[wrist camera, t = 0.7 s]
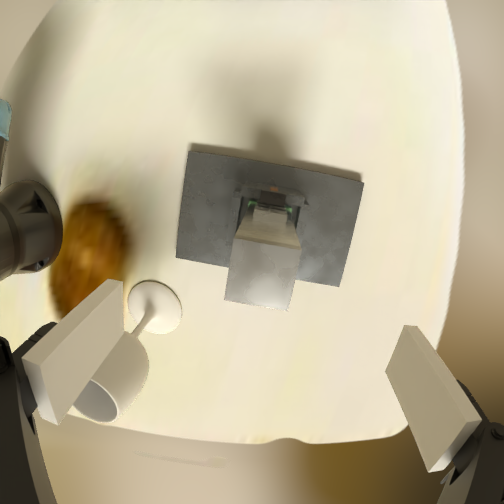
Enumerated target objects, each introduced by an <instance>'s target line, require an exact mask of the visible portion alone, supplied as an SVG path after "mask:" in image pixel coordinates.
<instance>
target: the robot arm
mask: <svg viewBox="0 0 504 504" xmlns="http://www.w3.org/2000/svg"><path fill="white" fill-rule="evenodd" d="M11 116H12V109H11V106H10V105H9V103H8V102H7V101H5V100H2V99H0V185H1V177H2V170H3V163H4V157H5V151H6V146H7V142H8V141H9V136H8V133H9V127H10V122H11ZM61 244H62V221H61V216H60V213H59V210H58V207H57V204H56V202H55V200H54V199H53V197H52V195H51V194H50V193H49V191H48V190H47V189H46V188H45V187H44V186H42V185H41V184H39V183H38V182H35V181H31V180H25V181H20V182H15V183H13V184H11V185H9V186H8V187H6V188H5V189H4V190H3V191H1V192H0V281H2V280H3V279H5V278H6V277H8V276H10V275H12V274H25V273H35V272H39V271H41V270H43V269H44V268H46V267H48V266H49V265H51V264H52V263H53V262H54V260H55V259H56V258H57V256H58V254H59V251H60V248H61ZM123 334H124V318H123V282H121V281H116V280H112V279H107V280H106V281H105V282H104V283H103V284H101V285H100V286H99V287H98V288H97V289H96V290H95V291H93V292H92V293H91V294H90V295H89V296H88V297H87V298H85V299H84V300H83V301H82V302H81V303H80V304H79V305H77V306H76V307H75V308H74V309H73V310H72V311H71V312H70V313H69V314H67V315H66V316H65V317H64V318H63V319H62V320H61V321H60V322H59V323H55V322H50V323H48V324H46V325H44V326H42V327H41V328H39V329H38V330H37V331H36V332H35V333H34V334H33V335H32V336H30V337H29V338H28V340H26V341H25V342H24V343H23V344H22V345H21V346H20V347H18V348H17V349H16V350H15V351H14V352H13V353H11V349H10V346H9V342H8V341H7V340H6V339H5V338H3V337H1V336H0V504H57V502H56V499H55V496H54V493H53V490H52V487H51V484H50V481H49V477H48V474H47V470H46V467H45V463H44V460H43V456H42V452H41V448H40V443H39V439H38V434H37V430H36V425H35V420H34V417H33V415H32V413H33V412H34V410H35V409H36V408H38V410H39V413H40V416H41V418H43V419H45V420H47V421H50V422H52V423H54V424H56V425H59V424H60V422H61V421H62V419H63V418H64V416H65V415H66V414H67V412H68V411H69V409H70V408H71V406H72V405H73V403H74V402H75V400H76V399H77V398H78V396H79V395H80V393H81V392H82V390H83V389H84V387H85V386H86V385H87V383H88V382H89V380H90V379H91V378H92V376H93V375H94V373H95V372H96V371H97V369H98V368H99V366H100V365H101V364H102V362H103V361H104V360H105V358H106V357H107V355H108V354H109V353H110V351H111V350H112V349H113V347H114V346H115V344H116V343H117V342H118V340H119V339H120V338H121V336H122V335H123ZM385 372H386V374H387V376H388V378H389V381H390V383H391V385H392V387H393V389H394V392H395V394H396V396H397V398H398V401H399V403H400V405H401V408H402V410H403V412H404V414H405V417H406V419H407V421H408V424H409V426H410V428H411V431H412V433H413V436H414V438H415V441H416V443H417V445H418V448H419V450H420V453H421V455H422V458H423V460H424V463H425V465H426V468H427V471H428V472H433V471H439V470H444V469H445V467H446V466H447V465H448V464H449V463H450V462H451V460H453V462H454V465H455V466H454V468H453V469H452V470H451V471H450V472H449V473H448V474H447V475H446V477H445V478H444V479H443V480H442V481H441V484H443V483H444V482H445V481H446V480H447V481H446V484H445V486H444V488H443V491H442V493H441V495H440V498H439V500H438V502H437V504H504V426H503V425H501V424H500V423H496V422H492V423H490V422H489V420H488V419H487V417H486V416H485V414H484V412H483V411H482V409H481V408H480V406H479V405H478V403H477V402H476V400H475V399H474V397H473V396H471V395H472V394H471V393H470V392H469V390H468V389H467V387H466V386H465V385H464V384H462V383H461V382H460V381H459V380H456V379H455V378H454V376H453V375H452V373H451V372H450V371H449V369H448V368H447V366H446V365H445V364H444V362H443V361H442V359H441V358H440V356H439V355H438V354H437V352H436V351H435V350H434V348H433V347H432V345H431V344H430V343H429V341H428V340H427V339H426V337H425V336H424V335H423V333H422V332H421V331H420V329H419V328H418V327H417V326H409V325H404V327H403V330H402V332H401V335H400V337H399V340H398V342H397V345H396V347H395V350H394V352H393V354H392V357H391V359H390V362H389V364H388V366H387V368H386V371H385Z"/></svg>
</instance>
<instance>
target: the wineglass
mask: <svg viewBox="0 0 504 504" xmlns="http://www.w3.org/2000/svg"><path fill="white" fill-rule="evenodd" d="M128 308H129V312H130V314H131V316H132V318H133V319H134V321H135V322H136V323H137V324H138V325H137V327H136V328H135V329H134V331H133V332H132V333H131V334H130V333H129V332H126V331H124V334H123V335H122V336H121V338H120V339H119V340H118V342H117V343H116V344H115V346H114V347H113V349H112V350H111V351H110V353H109V354H108V355H107V357H106V358H105V360H104V361H103V362H102V364H101V365H100V366H99V368H98V369H97V371H96V372H95V373H94V375H93V376H92V378H91V379H90V380H89V382H88V383H87V385H86V386H85V387H84V389H83V390H82V392H81V393H80V395H79V396H78V398H77V399H76V400H75V402H74V403H73V405H72V406H73V407H74V408H75V409H76V410H77V411H79V412H80V413H81V414H83V415H84V416H86V417H88V418H89V419H92V420H94V421H97V422H102V423H110V422H113V421H115V420H117V419H118V418H119V417H120V416H121V415H122V414H123V413H124V412H125V411H126V410H127V409H128V408H129V407H130V406H131V404H132V403H133V402H134V401H135V399H136V398H137V397H138V395H139V393H140V392H141V390H142V388H143V386H144V384H145V381H146V379H147V376H148V372H149V360H148V356H147V353H146V350H145V348H144V346H143V345H142V343H141V342H140V341H139V340H138V337H139V335H140V333H141V332H142V330H143V329H145V330H147V331H149V332H152V333H156V334H164V333H168V332H171V331H173V330H174V329H175V328H176V327H177V326H178V325H179V323H180V321H181V318H182V309H181V305H180V302H179V300H178V298H177V297H176V295H175V294H174V293H173V292H172V291H171V290H170V289H169V288H167V287H166V286H164V285H162V284H160V283H156V282H143V283H140V284H138V285H136V286H135V287H134V288H133V289H132V290H131V292H130V294H129V297H128Z"/></svg>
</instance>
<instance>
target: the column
mask: <svg viewBox="0 0 504 504" xmlns="http://www.w3.org/2000/svg"><path fill="white" fill-rule="evenodd" d="M259 201H260V200H259V199H258V200H253V199H250V200H249V205H248V209H247V211H246V214H245V216H244V218H243V220H242V222H241V224H240V226H239V228H238V230H237V232H236V234H235V236H234V239H233V245H232V252H231V258H230V265H229V271H228V278H227V285H226V291H225V298H224V300H227V301H232V302H238V303H243V304H249V305H254V306H260V307H266V308H271V309H277V310H283V311H288V308H289V304H290V300H291V296H292V291H293V287H294V283H295V278H296V274H297V270H298V265H299V261H300V256H301V252H302V249H301V246H300V243H299V239H298V236H297V232H296V229H295V225H294V222H293V219H292V215H291V211H292V207H291V206H286V205H285V204H284V207H283V206H277V205H272V204H266V203H261V202H259Z"/></svg>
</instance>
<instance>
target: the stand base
mask: <svg viewBox="0 0 504 504" xmlns="http://www.w3.org/2000/svg"><path fill="white" fill-rule="evenodd" d="M363 187H364V183H363V182H359V181H355V180H351V179H347V178H342V177H338V176H333V175H329V174H324V173H319V172H315V171H310V170H305V169H300V168H295V167H289V166H284V165H279V164H273V163H268V162H262V161H256V160H250V159H244V158H237V157H231V156H224V155H217V154H210V153H203V152H195V151H189V152H188V159H187V166H186V173H185V180H184V188H183V195H182V203H181V212H180V220H179V229H178V239H177V249H176V258H180V259H186V260H191V261H196V262H202V263H207V264H212V265H218V266H223V267H229V265H230V258H231V252H232V245H233V239H234V236H235V234H236V232H237V230H238V228H239V226H240V224H241V222H242V220H243V218H244V216H245V214H246V211H247V209H248V205H249V200H250V199H253V200H258V199H259V200H260V201H259V202H261V203H266V204H272V205H277V206H283V207H284V204H285V205H286V206H291V207H292V211H291V215H292V219H293V222H294V225H295V229H296V232H297V236H298V239H299V243H300V246H301V249H302V252H301V256H300V261H299V265H298V270H297V274H296V278H295V279H296V280H302V281H307V282H313V283H319V284H325V285H331V286H337V287H339V285H340V282H341V278H342V274H343V271H344V267H345V263H346V259H347V255H348V252H349V248H350V244H351V240H352V236H353V231H354V227H355V223H356V219H357V214H358V210H359V205H360V201H361V196H362V191H363Z"/></svg>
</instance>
